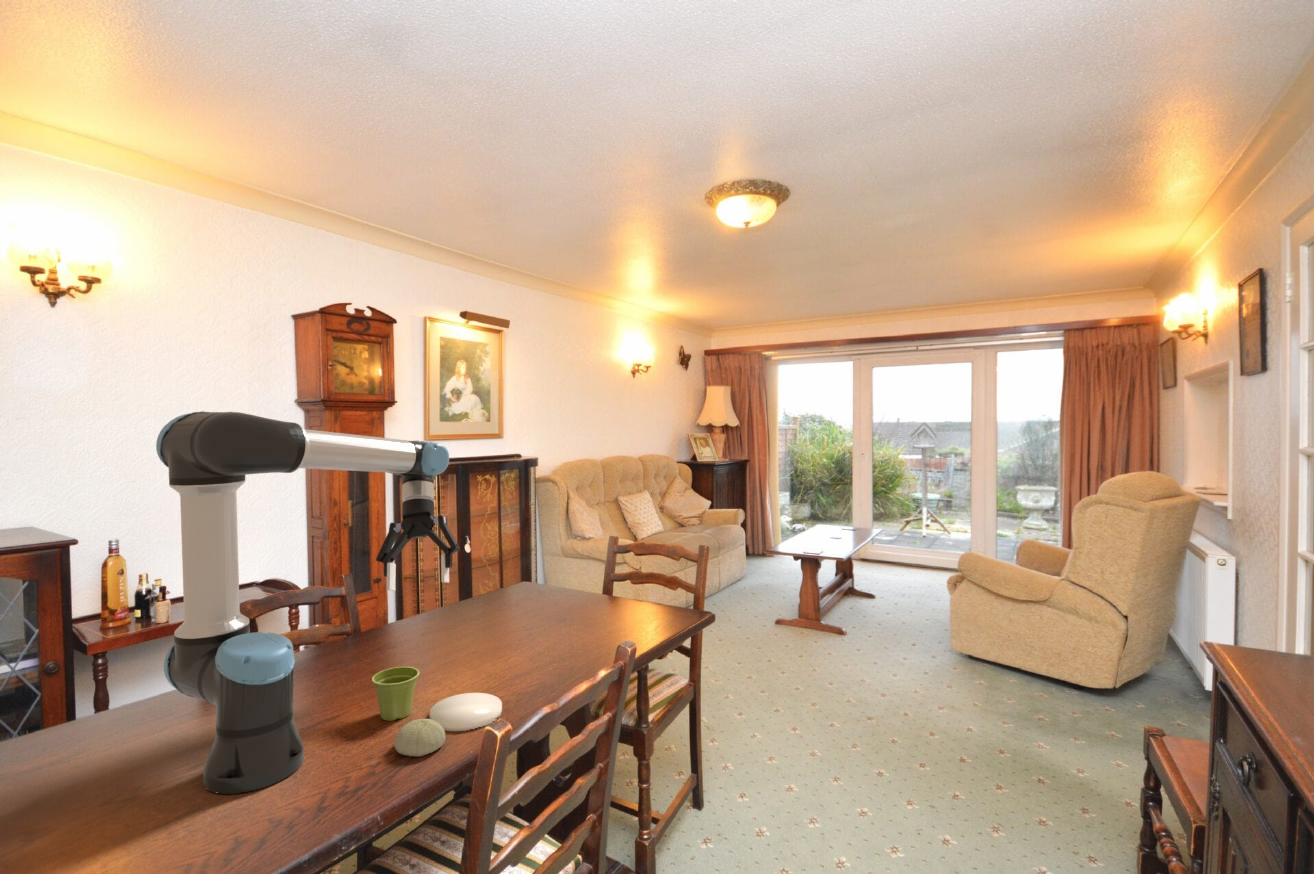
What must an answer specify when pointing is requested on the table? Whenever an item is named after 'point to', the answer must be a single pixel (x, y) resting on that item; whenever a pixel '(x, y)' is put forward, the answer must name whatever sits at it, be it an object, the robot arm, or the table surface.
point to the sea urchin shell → (419, 737)
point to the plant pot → (395, 691)
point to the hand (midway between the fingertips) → (418, 586)
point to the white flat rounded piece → (466, 711)
